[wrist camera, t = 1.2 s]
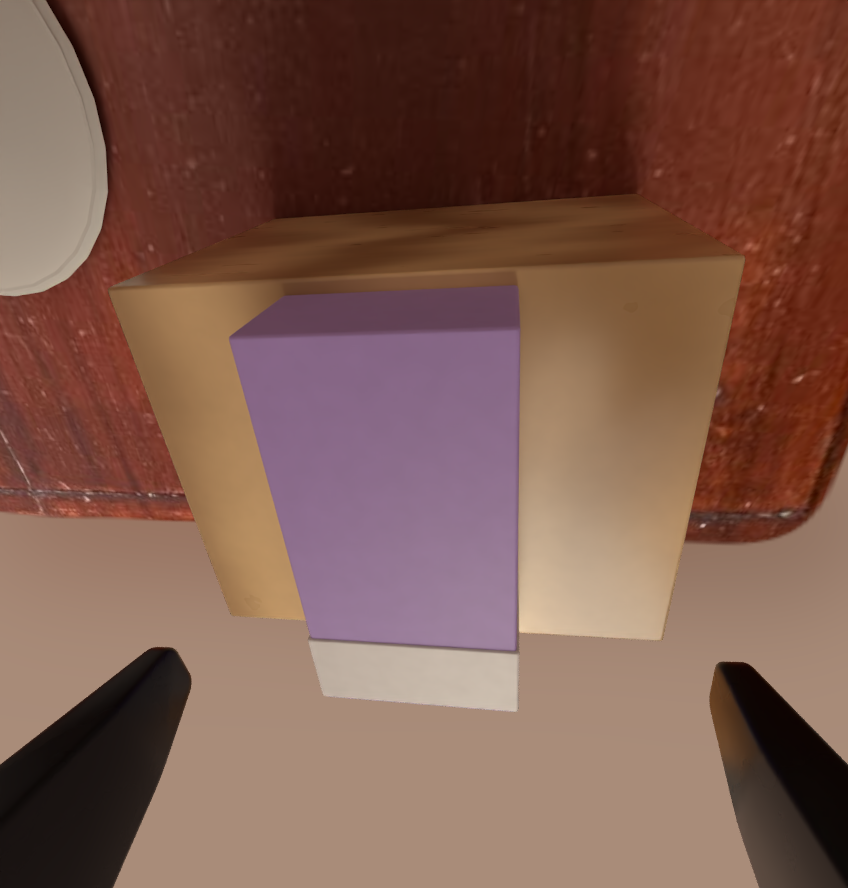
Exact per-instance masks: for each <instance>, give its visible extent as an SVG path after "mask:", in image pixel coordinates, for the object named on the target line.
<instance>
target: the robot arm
mask: <svg viewBox="0 0 848 888" xmlns="http://www.w3.org/2000/svg"><path fill="white" fill-rule="evenodd" d="M190 689H191V675H190V673H189V672H188V670H187V668H186V666H185V664H184V662H183V661H182V659H181V657H180V655H179V654H178V652H177V651H176V650H175V649H173V648H170V647H155V648H151V649H149V650H147V651H146V652H144V653H143V654H142V655H141V656H139V657H138V658H137V659H135V660H134V661H133V662H131V663H130V664H129V665H128V666H126V667H125V668H124V669H123V670H121V671H120V672H119V673H117V674H116V675H115V676H113V677H112V678H111V679H110V680H108V681H107V682H106V683H104V684H103V685H102V686H101V687H99V688H98V689H97V690H95V691H94V692H93V693H92V694H90V695H89V696H88V697H86V698H85V699H84V700H83V701H81V702H80V703H79V704H78V705H76V706H75V707H74V708H72V709H71V710H70V711H68V712H67V713H66V714H65V715H63V716H62V717H61V718H59V719H58V720H57V721H56V722H54V723H53V724H52V725H50V726H49V727H48V728H47V729H45V730H44V731H43V732H42V733H40V734H39V735H38V736H37V737H35V738H34V739H33V740H31V741H30V742H29V743H27V744H26V745H25V746H23V747H22V748H21V749H20V750H18V751H17V752H16V753H15V754H13V755H12V756H11V757H9V758H8V759H7V760H6V761H4V762H3V763H2V764H0V888H113V886H114V884H115V882H116V879H117V877H118V875H119V872H120V870H121V868H122V865H123V863H124V861H125V859H126V856H127V854H128V852H129V850H130V847H131V845H132V843H133V840H134V838H135V836H136V834H137V831H138V829H139V827H140V824H141V822H142V820H143V818H144V815H145V813H146V810H147V808H148V806H149V804H150V802H151V799H152V797H153V794H154V792H155V790H156V787H157V785H158V783H159V780H160V778H161V775H162V772H163V769H164V767H165V764H166V761H167V758H168V755H169V752H170V749H171V746H172V743H173V740H174V737H175V734H176V731H177V728H178V725H179V722H180V720H181V717H182V714H183V710H184V708H185V705H186V701H187V699H188V695H189V693H190ZM710 709H711V714H712V719H713V723H714V727H715V731H716V735H717V740H718V743H719V748H720V752H721V757H722V761H723V765H724V769H725V774H726V778H727V782H728V786H729V790H730V795H731V799H732V803H733V807H734V811H735V815H736V819H737V823H738V826H739V829H740V832H741V835H742V839H743V842H744V845H745V848H746V851H747V854H748V856H749V859H750V862H751V865H752V868H753V870H754V873H755V877H756V880H757V883H758V885H759V888H848V764H847V763H846V762H845V761H844V760H843V759H842V758H841V757H840V756H839V755H838V754H837V753H836V752H835V751H834V750H833V749H832V748H831V747H830V746H829V745H828V744H827V743H826V742H825V741H824V740H823V739H822V738H821V736H819V734H818V733H816V731H814V729H813V728H812V727H811V726H810V725H809V724H808V723H807V722H806V721H805V720H804V719H803V718H802V717H801V716H800V715H799V714H798V713H797V712H796V711H795V710H794V709H793V708H792V707H791V706H790V705H789V704H788V703H787V702H786V701H785V700H784V699H783V698H782V697H781V696H780V695H779V694H778V693H777V692H776V690H775V689H774V688H773V687H772V686H771V685H770V684H769V683H768V682H767V681H766V680H765V679H764V678H763V677H762V676H761V675H760V674H759V673H758V672H757V671H756V670H755V669H754V668H753V667H752V666H750V665H749V664H747V663H744V662H719V663H718V664H717V665H716V667H715V672H714V676H713V681H712V686H711V692H710Z"/></svg>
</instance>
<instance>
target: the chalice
mask: <svg viewBox="0 0 848 888" xmlns="http://www.w3.org/2000/svg"><path fill="white" fill-rule="evenodd" d="M107 194H108V185H107V164H106V147H105V143H104V139H103V135H102V130H101V126H100V122H99V117H98V113H97V109H96V104H95V100H94V97H93V95H92V92H91V90H90V87H89V85H88V83H87V80H86V78H85V75H84V73H83V70H82V68H81V65H80V63H79V61H78V58H77V56H76V53H75V51H74V48H73V46H72V44H71V43H70V41H69V39H68V38H67V36H66V34H65V32H64V31H63V29H62V27H61V26H60V24H59V22H58V21H57V19H56V17H55V15H54V14H53V12H52V10H51V9H50V7H49V5H48V4H47V2H46V0H0V295H6V296H19V295H25V294H31V293H37V292H43V291H45V290H47V289H49V288H51V287H53V286H55V285H57V284H59V283H60V282H62V281H64V280H66V279H68V278H69V277H70V276H71V275H72V274H73V273H74V272H75V271H76V269H77V268H78V267H79V266H80V265H81V264H82V263H83V262H84V261H85V260H86V259H87V258H88V256H89V254H90V252H91V250H92V247H93V245H94V243H95V241H96V239H97V237H98V235H99V233H100V231H101V228H102V222H103V217H104V211H105V205H106V200H107Z"/></svg>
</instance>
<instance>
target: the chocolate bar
mask: <svg viewBox="0 0 848 888" xmlns="http://www.w3.org/2000/svg"><path fill="white" fill-rule="evenodd" d="M229 342H230V345H231V349H232V353H233V356H234V360H235V364H236V367H237V371H238V375H239V378H240V382H241V385H242V389H243V393H244V396H245V400H246V404H247V407H248V411H249V415H250V418H251V422H252V426H253V429H254V433H255V436H256V440H257V444H258V447H259V451H260V455H261V458H262V462H263V466H264V469H265V473H266V477H267V480H268V484H269V487H270V491H271V495H272V498H273V502H274V506H275V509H276V513H277V517H278V520H279V524H280V528H281V531H282V535H283V538H284V542H285V546H286V549H287V553H288V557H289V560H290V564H291V568H292V571H293V575H294V579H295V582H296V586H297V589H298V593H299V597H300V600H301V604H302V608H303V611H304V615H305V619H306V622H307V626H308V630H309V633H310V635H309V638H308V643H309V646H310V650H311V653H312V657H313V660H314V664H315V668H316V671H317V675H318V678H319V682H320V685H321V689H322V693H323V695H324V696H329V697H340V698H352V699H364V700H376V701H388V702H400V703H413V704H426V705H437V706H449V707H461V708H475V709H486V710H498V711H510V712H514V711H515V712H516V711H518V709H519V589H518V505H519V412H520V309H519V288H518V286H516V285H509V286H487V287H465V288H443V289H421V290H399V291H377V292H355V293H333V294H311V295H289V296H283V297H282V298H280V299H279V300H278V301H276V302H275V303H274V304H272V305H271V306H270V307H268V308H267V309H266V310H264V311H263V312H261V313H260V314H259V315H257V316H256V317H255V318H253V319H252V320H251V321H249V322H248V323H247V324H245V325H244V326H243V327H241V328H240V329H239V330H237V331H236V332H235V333H233V334H232V335H231V336H230V337H229Z"/></svg>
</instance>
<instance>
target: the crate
mask: <svg viewBox="0 0 848 888" xmlns="http://www.w3.org/2000/svg"><path fill="white" fill-rule="evenodd" d="M744 263H745V256H744V255H742V254H740V253H739V252H737V251H735V250H733V249H732V248H730V247H728V246H727V245H725V244H723V243H721V242H720V241H718V240H716V239H714V238H713V237H711V236H709V235H708V234H706V233H704V232H702V231H701V230H699V229H697V228H696V227H694V226H692V225H690V224H689V223H687V222H685V221H683V220H682V219H680V218H678V217H677V216H675V215H673V214H671V213H670V212H668V211H666V210H664V209H663V208H661V207H659V206H658V205H656V204H654V203H652V202H651V201H649V200H647V199H645V198H644V197H642V196H640V195H639V194H625V195H610V196H596V197H582V198H568V199H553V200H539V201H525V202H511V203H496V204H482V205H468V206H454V207H440V208H425V209H411V210H397V211H383V212H368V213H354V214H340V215H326V216H311V217H297V218H283V219H274V220H271V221H269V222H266V223H264V224H262V225H259V226H257V227H254V228H252V229H249V230H247V231H245V232H242V233H240V234H237V235H235V236H233V237H230V238H228V239H225V240H223V241H220V242H218V243H216V244H213V245H211V246H208V247H206V248H204V249H201V250H199V251H196V252H194V253H191V254H189V255H187V256H184V257H182V258H179V259H177V260H174V261H172V262H170V263H167V264H165V265H162V266H160V267H158V268H155V269H153V270H150V271H148V272H145V273H143V274H141V275H138V276H136V277H133V278H131V279H129V280H126V281H124V282H121V283H119V284H116V285H114V286H112V287H110V288H109V289H108V293H109V296H110V299H111V301H112V304H113V306H114V309H115V312H116V314H117V317H118V320H119V322H120V325H121V327H122V330H123V333H124V335H125V338H126V341H127V343H128V346H129V348H130V351H131V354H132V356H133V359H134V362H135V364H136V367H137V369H138V372H139V375H140V377H141V380H142V383H143V385H144V388H145V390H146V393H147V396H148V398H149V401H150V404H151V406H152V409H153V411H154V414H155V417H156V419H157V422H158V425H159V427H160V430H161V432H162V435H163V438H164V440H165V443H166V446H167V448H168V451H169V453H170V456H171V459H172V461H173V464H174V467H175V469H176V472H177V474H178V477H179V480H180V482H181V485H182V488H183V490H184V493H185V495H186V498H187V501H188V503H189V506H190V509H191V511H192V514H193V517H194V519H195V522H196V524H197V527H198V530H199V532H200V535H201V537H202V540H203V542H204V545H205V548H206V551H207V553H208V556H209V558H210V561H211V564H212V566H213V569H214V571H215V574H216V577H217V580H218V582H219V585H220V587H221V590H222V593H223V595H224V598H225V601H226V603H227V605H228V608H229V611H230V614H231V615H232V616H240V617H257V618H274V619H291V620H306V619H305V615H304V611H303V608H302V604H301V600H300V597H299V593H298V589H297V586H296V582H295V579H294V575H293V571H292V568H291V564H290V560H289V557H288V553H287V549H286V546H285V542H284V538H283V535H282V531H281V528H280V524H279V520H278V517H277V513H276V509H275V506H274V502H273V498H272V495H271V491H270V487H269V484H268V480H267V477H266V473H265V469H264V466H263V462H262V458H261V455H260V451H259V447H258V444H257V440H256V436H255V433H254V429H253V426H252V422H251V418H250V415H249V411H248V407H247V404H246V400H245V396H244V393H243V389H242V385H241V382H240V378H239V375H238V371H237V367H236V364H235V360H234V356H233V353H232V349H231V345H230V342H229V337H230V336H231V335H232V334H233V333H235V332H236V331H237V330H239V329H240V328H241V327H243V326H244V325H245V324H247V323H248V322H249V321H251V320H252V319H253V318H255V317H256V316H257V315H259V314H260V313H261V312H263V311H264V310H266V309H267V308H268V307H270V306H271V305H272V304H274V303H275V302H276V301H278V300H279V299H280V298H282V297H283V296H289V295H311V294H333V293H355V292H377V291H399V290H421V289H443V288H465V287H487V286H509V285H516V286H518V288H519V309H520V412H519V505H518V589H519V633H531V634H549V635H566V636H583V637H602V638H618V639H634V640H651V641H661V640H663V636H664V632H665V627H666V622H667V618H668V613H669V608H670V604H671V599H672V595H673V590H674V586H675V581H676V576H677V572H678V567H679V562H680V558H681V553H682V549H683V544H684V540H685V535H686V530H687V526H688V521H689V517H690V512H691V507H692V503H693V498H694V494H695V489H696V484H697V480H698V475H699V471H700V466H701V461H702V457H703V452H704V448H705V443H706V438H707V434H708V429H709V425H710V420H711V415H712V411H713V406H714V402H715V397H716V392H717V388H718V383H719V379H720V374H721V369H722V365H723V360H724V356H725V351H726V346H727V342H728V337H729V332H730V328H731V323H732V319H733V314H734V309H735V305H736V300H737V296H738V291H739V286H740V282H741V277H742V273H743V268H744Z"/></svg>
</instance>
